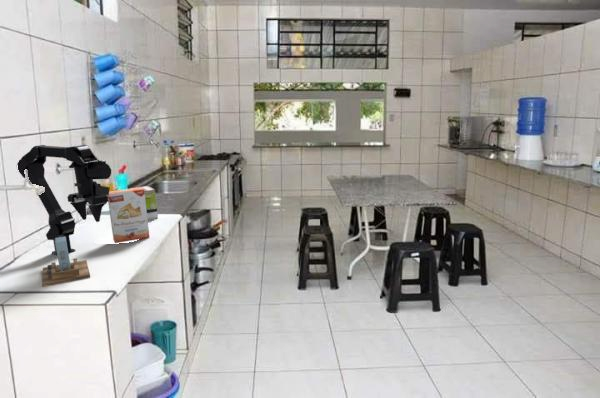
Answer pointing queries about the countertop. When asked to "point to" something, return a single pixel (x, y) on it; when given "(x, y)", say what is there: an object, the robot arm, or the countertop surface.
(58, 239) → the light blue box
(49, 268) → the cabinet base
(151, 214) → the tea box
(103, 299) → the countertop surface
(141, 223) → the cracker box
